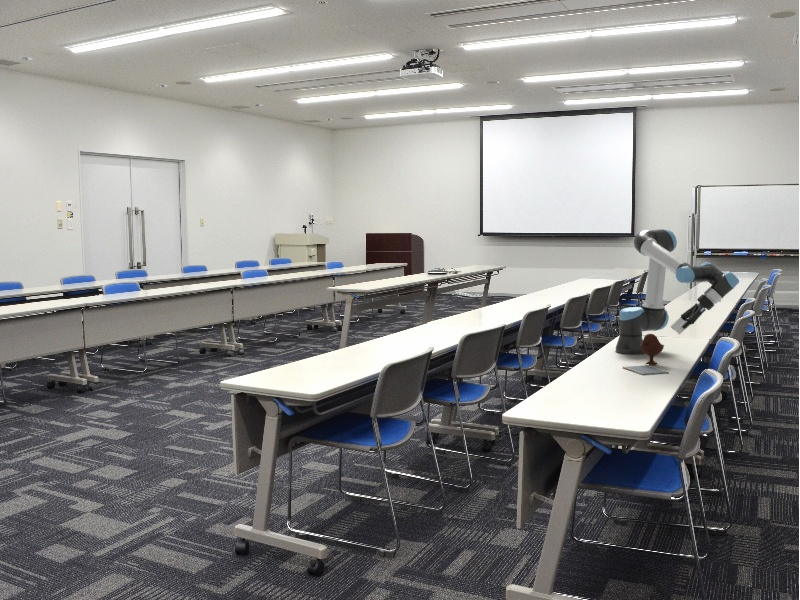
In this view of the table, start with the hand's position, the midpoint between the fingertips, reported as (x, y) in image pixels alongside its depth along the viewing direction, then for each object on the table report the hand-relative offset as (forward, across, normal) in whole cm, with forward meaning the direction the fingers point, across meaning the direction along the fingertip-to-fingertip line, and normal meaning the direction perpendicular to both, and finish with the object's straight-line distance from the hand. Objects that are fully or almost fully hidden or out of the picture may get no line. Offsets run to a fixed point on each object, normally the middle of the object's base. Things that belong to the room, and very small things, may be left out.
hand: (674, 330), depth 339 cm
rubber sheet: (+22, -16, -1) cm, 28 cm away
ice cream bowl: (+19, 0, -5) cm, 20 cm away
